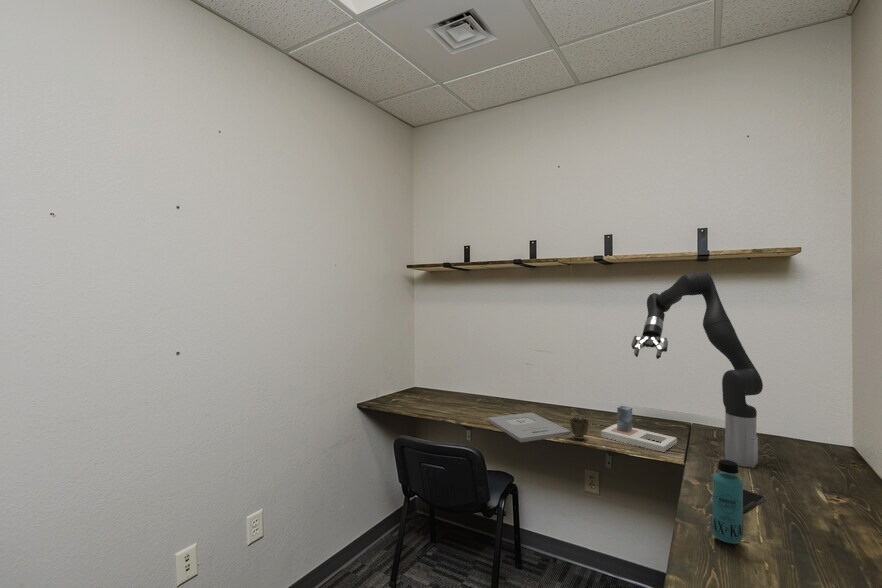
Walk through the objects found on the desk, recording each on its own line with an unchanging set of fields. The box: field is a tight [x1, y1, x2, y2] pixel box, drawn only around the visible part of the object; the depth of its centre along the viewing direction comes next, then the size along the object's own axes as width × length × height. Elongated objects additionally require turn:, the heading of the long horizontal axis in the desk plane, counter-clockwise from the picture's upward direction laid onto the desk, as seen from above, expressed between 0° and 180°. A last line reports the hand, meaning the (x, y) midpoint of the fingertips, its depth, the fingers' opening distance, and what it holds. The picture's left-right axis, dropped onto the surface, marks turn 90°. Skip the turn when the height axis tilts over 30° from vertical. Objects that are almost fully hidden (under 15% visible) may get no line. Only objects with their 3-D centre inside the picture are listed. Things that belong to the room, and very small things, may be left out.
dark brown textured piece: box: [569, 417, 590, 441], centre depth 179 cm, size 8×7×8 cm
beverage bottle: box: [710, 459, 744, 544], centre depth 106 cm, size 6×7×20 cm
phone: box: [743, 488, 766, 514], centre depth 126 cm, size 8×1×15 cm
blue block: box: [616, 405, 633, 433], centre depth 181 cm, size 4×4×10 cm
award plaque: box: [486, 412, 572, 443], centre depth 193 cm, size 25×30×2 cm
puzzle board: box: [600, 423, 678, 453], centre depth 177 cm, size 25×14×3 cm, turn 43°
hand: (646, 356), depth 189 cm, fingers open, 8 cm apart
